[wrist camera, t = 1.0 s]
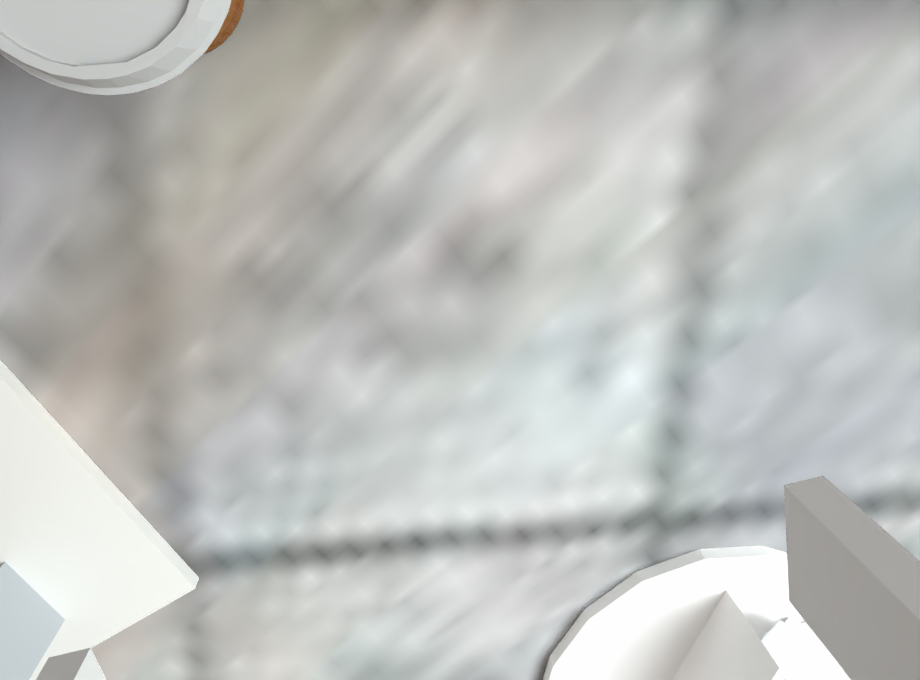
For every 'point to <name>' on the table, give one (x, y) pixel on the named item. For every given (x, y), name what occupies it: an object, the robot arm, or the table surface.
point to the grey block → (23, 626)
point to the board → (76, 531)
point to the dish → (696, 625)
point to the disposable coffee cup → (112, 40)
